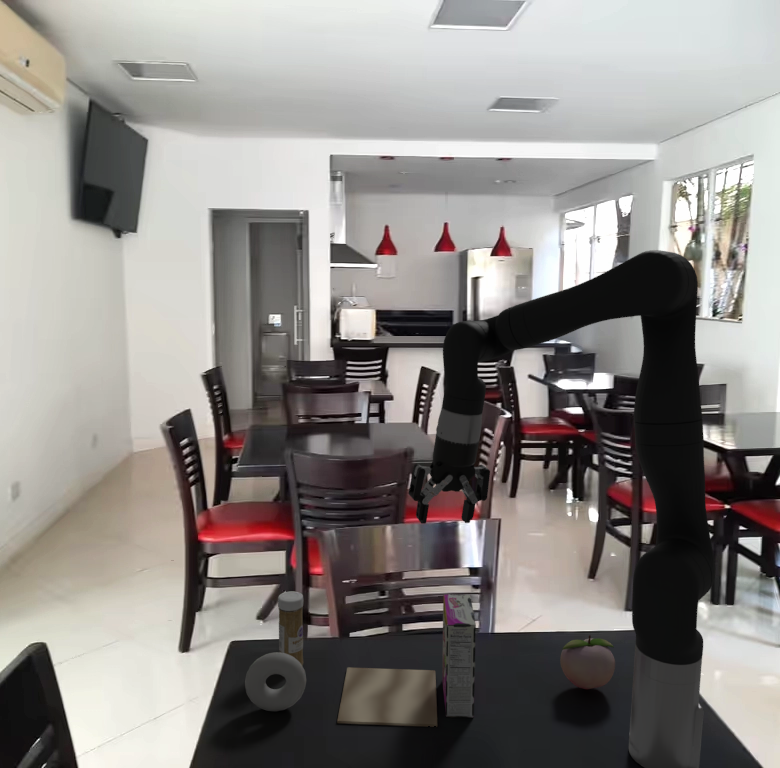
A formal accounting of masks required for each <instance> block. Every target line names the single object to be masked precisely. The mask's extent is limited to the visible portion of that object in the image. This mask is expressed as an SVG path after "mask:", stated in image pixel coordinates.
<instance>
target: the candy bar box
mask: <svg viewBox="0 0 780 768" xmlns="http://www.w3.org/2000/svg"><path fill="white" fill-rule="evenodd" d="M442 597H443V599H442V600H443V602H442V603H443V605H442V678H441V679H442V680H441V681H442V689H443V701H444V702H443V703H444V710H445V717H447V718H474V717H475V689H476V688H475V684H476V683H475V679H476V677H475V676H476V675H475V674H476V633H477V631H476V627H477V625H476V618H475V613H474V608H473V603H472V598H471V594H452V593H449V594H443V596H442Z"/></svg>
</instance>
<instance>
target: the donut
mask: <svg viewBox="0 0 780 768" xmlns="http://www.w3.org/2000/svg"><path fill="white" fill-rule="evenodd" d="M272 675H280V676H282V677H283V678H284V679H285V684H284V685H283V686H282V687H280V688H276V689H275V688H274V689H273V688H270V687H269V686H268V685H267V683H266V681H267V679H268V678H269V677H270V676H272ZM244 680H245V681H244V687H245V692H246V693H245V694H246V695H247V697H248V698H249V700H250V702H251V703H253V704H254V705H255V706H256V707H257V708H259V709H262V710H265V712H267V711H268V712H279V711H284V710H287V709H289V708H290V707H292V706H294V705H295V704H296V703H297V702H298V701H299V700H300V699H301V698H302V696H303V694H304V692H305V689H306V685H307V676H306V670H305V669H304V667H303V665H301V663H300V662H299V661H298V660H297V659H295V658H294V657H293V656H291V655H288V654H286V653H280V651H279V652H277V651H276V652H269V653H266V654H264V655H262V656H260V657H258V658H257V659H255V661H254V662H253V663H252V664H251V665H250V666H249V668H248V670H247V672H246V674H245V679H244Z"/></svg>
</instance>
